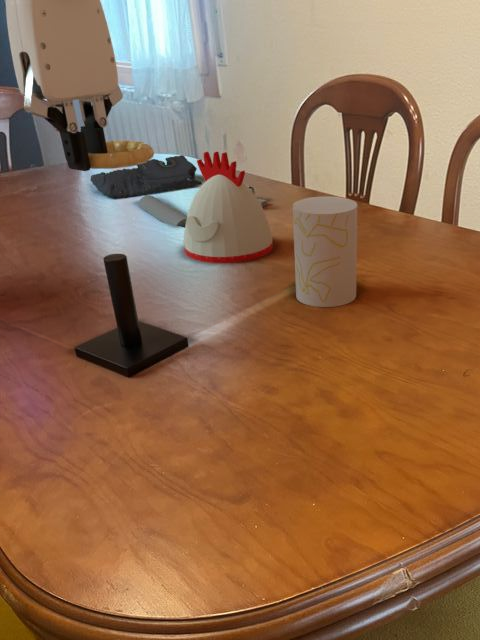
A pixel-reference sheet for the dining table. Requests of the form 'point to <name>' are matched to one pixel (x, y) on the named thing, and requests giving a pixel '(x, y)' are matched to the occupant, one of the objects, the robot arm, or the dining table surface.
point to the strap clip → (258, 199)
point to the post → (128, 330)
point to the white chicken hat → (225, 217)
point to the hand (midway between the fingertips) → (89, 165)
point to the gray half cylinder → (162, 211)
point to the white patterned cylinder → (325, 250)
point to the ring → (121, 155)
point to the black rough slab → (147, 178)
